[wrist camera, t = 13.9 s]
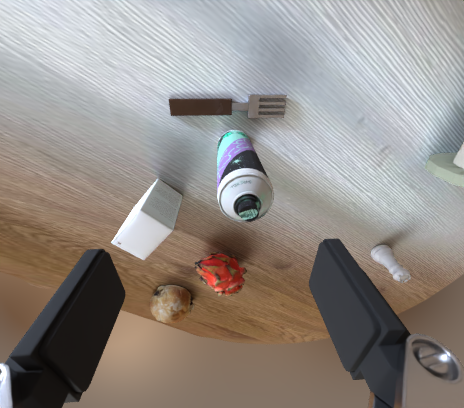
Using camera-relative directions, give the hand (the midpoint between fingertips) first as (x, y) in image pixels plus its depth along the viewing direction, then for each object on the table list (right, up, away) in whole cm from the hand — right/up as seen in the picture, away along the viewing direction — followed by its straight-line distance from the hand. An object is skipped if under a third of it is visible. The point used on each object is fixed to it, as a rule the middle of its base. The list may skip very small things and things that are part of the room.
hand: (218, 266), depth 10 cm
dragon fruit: (-2, -10, +39) cm, 40 cm away
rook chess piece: (+35, -8, +40) cm, 54 cm away
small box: (-13, +4, +30) cm, 33 cm away
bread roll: (-14, -20, +45) cm, 51 cm away
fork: (0, +18, +22) cm, 28 cm away
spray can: (+1, +13, +26) cm, 28 cm away
